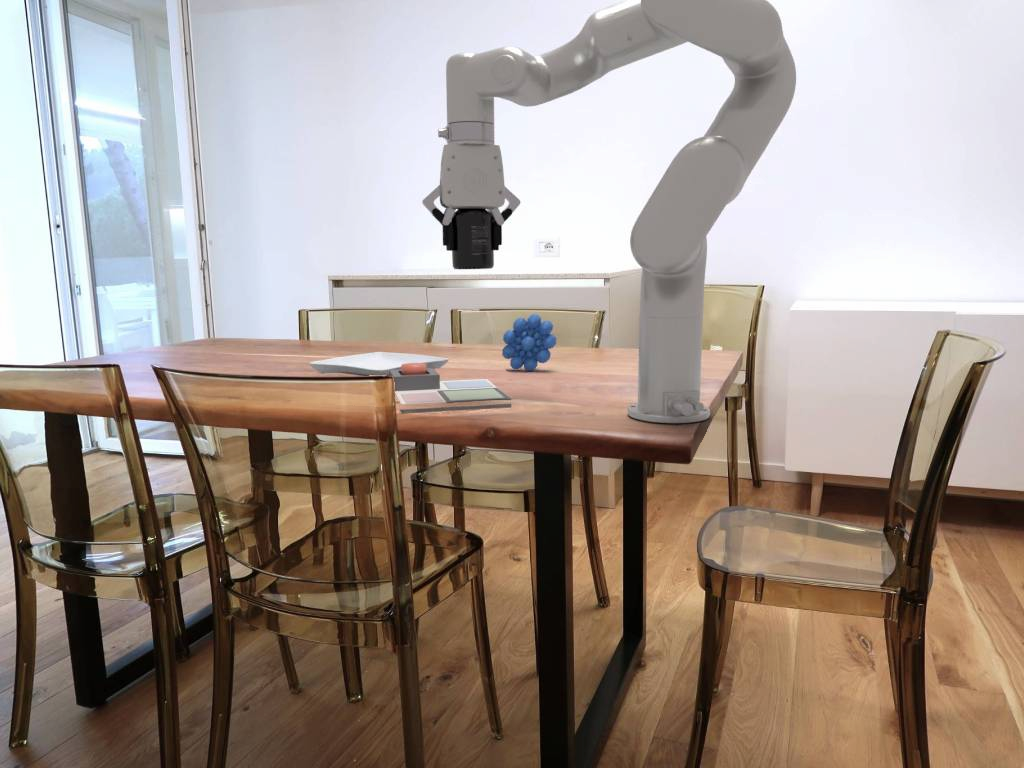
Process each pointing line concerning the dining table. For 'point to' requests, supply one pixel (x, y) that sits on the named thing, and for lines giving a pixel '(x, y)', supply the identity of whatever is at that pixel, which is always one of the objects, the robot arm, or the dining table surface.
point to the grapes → (528, 342)
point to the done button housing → (416, 380)
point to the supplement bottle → (472, 239)
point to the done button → (413, 368)
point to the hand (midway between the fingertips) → (472, 249)
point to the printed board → (454, 395)
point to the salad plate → (375, 363)
